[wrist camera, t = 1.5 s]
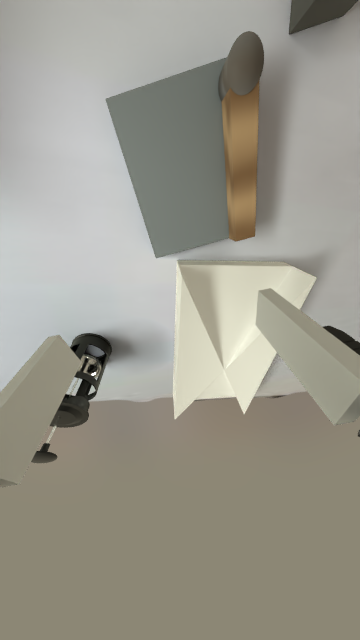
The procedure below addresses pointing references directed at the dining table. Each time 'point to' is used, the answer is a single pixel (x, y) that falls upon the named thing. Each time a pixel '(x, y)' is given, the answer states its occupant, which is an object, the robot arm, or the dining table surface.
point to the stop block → (316, 12)
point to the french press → (77, 406)
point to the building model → (226, 327)
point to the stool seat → (176, 157)
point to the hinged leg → (241, 131)
